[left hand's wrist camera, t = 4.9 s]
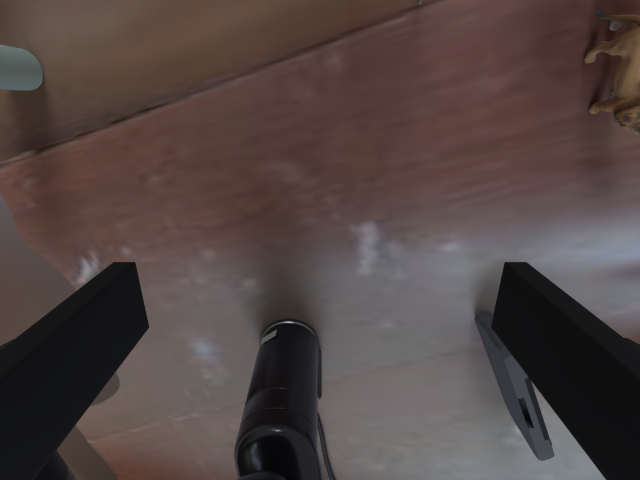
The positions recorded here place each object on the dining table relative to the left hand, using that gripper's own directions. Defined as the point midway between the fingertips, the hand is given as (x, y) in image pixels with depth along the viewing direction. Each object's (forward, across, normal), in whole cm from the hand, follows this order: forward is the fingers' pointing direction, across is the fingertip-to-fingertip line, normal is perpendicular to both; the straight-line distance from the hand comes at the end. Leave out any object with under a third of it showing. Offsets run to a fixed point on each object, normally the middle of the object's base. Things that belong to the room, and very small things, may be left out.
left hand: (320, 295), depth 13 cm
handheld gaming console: (+36, +30, -34) cm, 57 cm away
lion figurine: (+36, +35, +9) cm, 51 cm away
